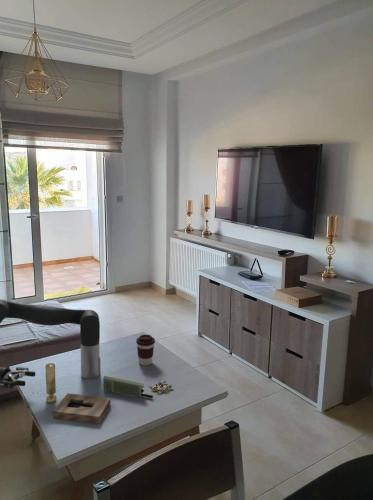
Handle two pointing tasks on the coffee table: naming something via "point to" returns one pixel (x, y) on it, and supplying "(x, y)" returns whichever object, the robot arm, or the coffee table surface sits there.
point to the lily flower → (161, 387)
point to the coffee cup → (145, 349)
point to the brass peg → (50, 383)
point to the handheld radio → (124, 387)
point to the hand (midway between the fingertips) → (30, 378)
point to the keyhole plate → (82, 408)
